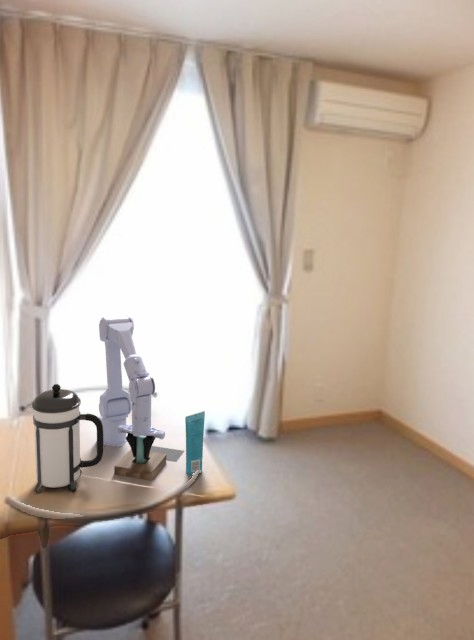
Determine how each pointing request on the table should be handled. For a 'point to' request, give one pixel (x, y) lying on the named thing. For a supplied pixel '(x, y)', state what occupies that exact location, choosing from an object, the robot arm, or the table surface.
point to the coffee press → (60, 438)
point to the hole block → (140, 466)
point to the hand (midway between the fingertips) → (141, 456)
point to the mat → (168, 453)
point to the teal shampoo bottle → (194, 442)
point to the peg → (140, 450)
